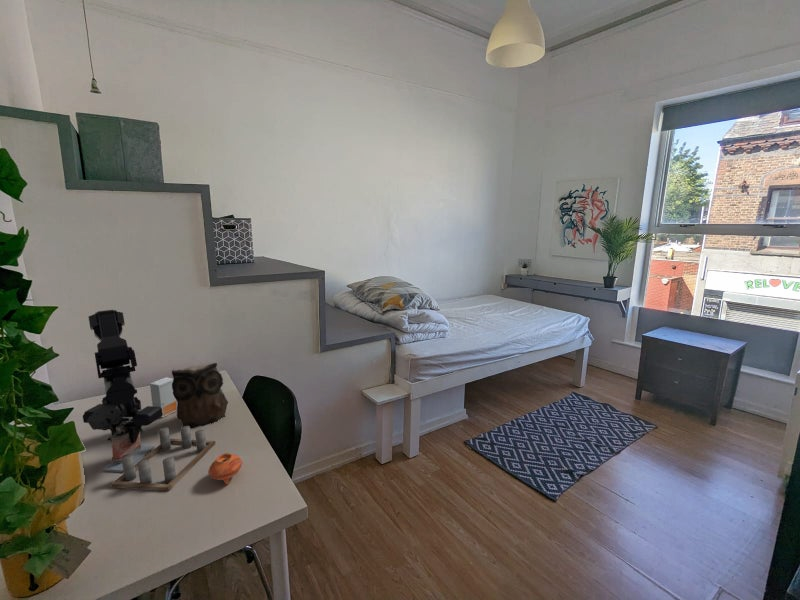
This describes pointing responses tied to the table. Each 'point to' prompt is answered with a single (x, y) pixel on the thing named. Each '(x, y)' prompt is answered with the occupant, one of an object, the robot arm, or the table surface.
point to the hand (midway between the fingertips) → (127, 442)
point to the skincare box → (163, 396)
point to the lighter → (123, 443)
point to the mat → (137, 456)
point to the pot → (225, 467)
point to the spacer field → (168, 463)
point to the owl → (199, 395)
